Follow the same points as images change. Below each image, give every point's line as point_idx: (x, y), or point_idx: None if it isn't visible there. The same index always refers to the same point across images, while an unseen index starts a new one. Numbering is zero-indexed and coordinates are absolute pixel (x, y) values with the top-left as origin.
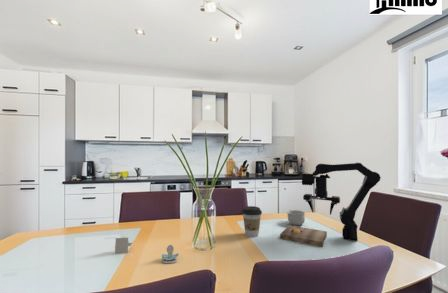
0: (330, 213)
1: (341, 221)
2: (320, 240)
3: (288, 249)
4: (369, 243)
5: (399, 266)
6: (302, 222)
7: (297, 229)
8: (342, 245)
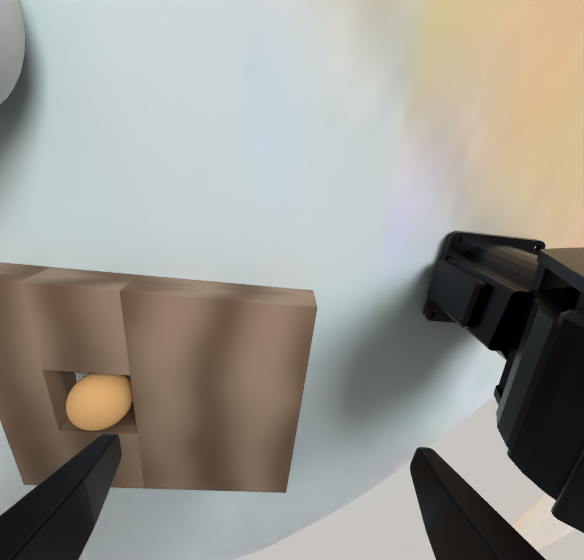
0: (426, 501)
1: (502, 429)
2: (275, 479)
3: (145, 529)
4: None
5: (551, 501)
6: (13, 70)
7: (93, 426)
8: (390, 407)
